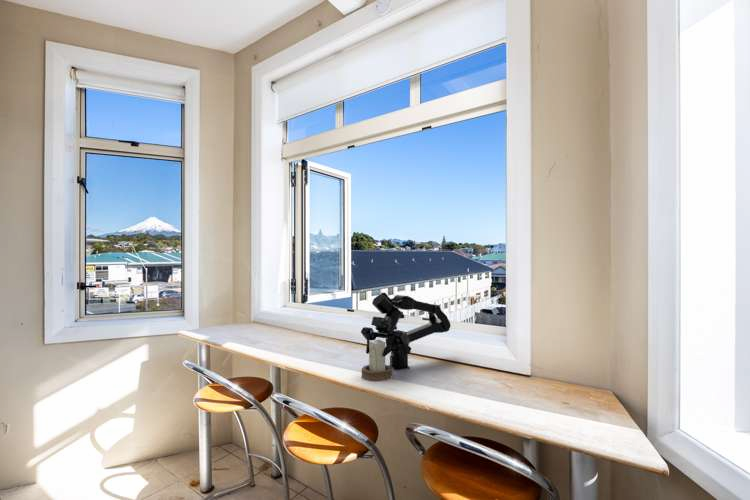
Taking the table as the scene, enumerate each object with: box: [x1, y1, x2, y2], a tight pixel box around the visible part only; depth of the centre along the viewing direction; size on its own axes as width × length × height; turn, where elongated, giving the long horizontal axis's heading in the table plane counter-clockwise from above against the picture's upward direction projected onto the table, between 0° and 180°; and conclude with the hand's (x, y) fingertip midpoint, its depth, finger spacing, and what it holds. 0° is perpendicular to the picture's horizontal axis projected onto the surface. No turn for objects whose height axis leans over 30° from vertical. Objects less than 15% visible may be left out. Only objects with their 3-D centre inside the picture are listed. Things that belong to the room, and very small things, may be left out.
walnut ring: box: [361, 364, 393, 382], centre depth 139 cm, size 11×11×3 cm
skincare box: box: [368, 339, 386, 372], centre depth 139 cm, size 6×4×12 cm
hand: (374, 354), depth 138 cm, fingers open, 7 cm apart
